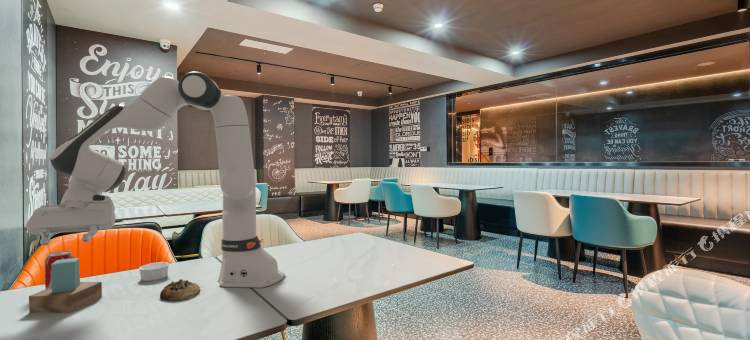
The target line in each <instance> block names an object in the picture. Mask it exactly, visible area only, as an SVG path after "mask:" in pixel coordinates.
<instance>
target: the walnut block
mask: <svg viewBox="0 0 750 340" xmlns="http://www.w3.org/2000/svg"><path fill="white" fill-rule="evenodd" d="M102 288H103V285H102V281H80V285H79V286H78V287H77V289H76V290H72V291H65V292H58V293H52V287H51V288H49V289H46V288H45V289H44V290H41V291H38V292H36V293H34V294H30V295H28V311H29V312H28V313H29V314H49V313H50V314H53V313H54V314H66V313H67V314H69V313H72V312H74V311H76V310H78V309H80V308H82V307H84V306H86V305H88V304H91V303H92V302H95V301H97V300H98V299H100V298H102V297H103V295H102V294H103V289H102Z"/></svg>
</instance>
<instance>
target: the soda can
mask: <svg viewBox="0 0 750 340" xmlns="http://www.w3.org/2000/svg"><path fill="white" fill-rule="evenodd" d="M73 258H75V256H74V255H73V253H72V251H71V250H62V251H55V252H54V251H53V252H51V253H50V252H49V253H47V254H46V258H45V260H44V265H43V266H44V287H45V290H46V289H49V288H51V287H52V275H51V264H53V263H54V262H55V261H57V260H64V259H73Z"/></svg>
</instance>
